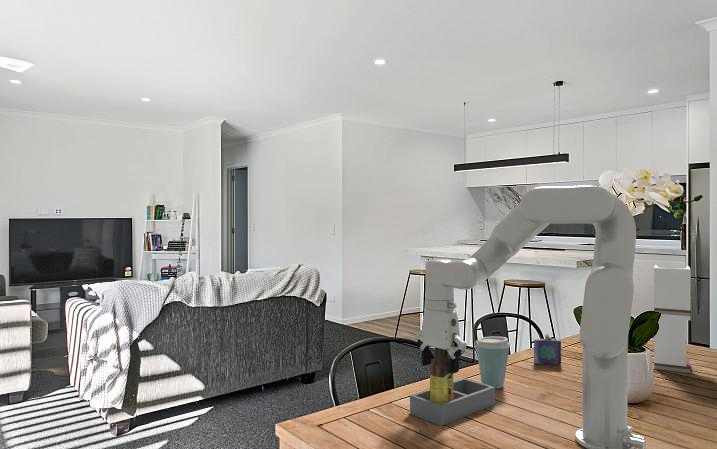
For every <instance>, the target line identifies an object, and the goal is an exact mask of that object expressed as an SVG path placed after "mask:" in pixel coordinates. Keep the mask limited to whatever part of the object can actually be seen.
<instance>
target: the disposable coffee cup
mask: <svg viewBox="0 0 717 449" xmlns="http://www.w3.org/2000/svg"><path fill="white" fill-rule="evenodd" d="M475 346H476V347H475V348H476V355H477V359H478V360H477V362H478V368H479V374H480V381H481V382H480V383H483V384H486V385H490V386H493V387H495V389H501V388H503V386H504V385H505V379H506V373H507V367H508V366H507V365H508V358H509V352H510V347H511V343H510V341H509V338H507V337H506V336H497V335H496V336H484V337H479V338H478V339H476V340H475Z"/></svg>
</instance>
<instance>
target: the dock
mask: <svg viewBox="0 0 717 449" xmlns="http://www.w3.org/2000/svg"><path fill="white" fill-rule="evenodd" d="M495 405H496V388H495V387H493V386H490V385H486V384H483V383H482V382H480V381H476V380H473V379H469V378H465V377H463V378H459V379H457V380H453V400H452V401H449V402H446V403H444V404H441V405H440V404H437V403H435V402H432V401H430V388H429V389H426V390H425V389H424V390H422V391H419V392H416V393H412V394H410V395H409V414H410V415H412V416H414V417H417V418H419V419H422V420H424V421H427V422H430V423H431V424H434V425H437V426H439V427H442V426H445V425H447V424H449V423H452V422H455V421H458V420H460V419H462V418H465V417H467V416H470V415H473V414H475V413H477V412H480V411H482V410H485V409H488V408H490V407H493V406H495Z"/></svg>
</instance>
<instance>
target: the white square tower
mask: <svg viewBox="0 0 717 449" xmlns="http://www.w3.org/2000/svg"><path fill="white" fill-rule="evenodd" d="M653 271H654V274H653V276H654V278H653V281H654V282H653V283H654V284H653V287H654V288H653V290H654V291H653V294H654V295H653V307H654V308H653V312H654V311H655V312H660V313H661V317H660V319H659V322H658V323H659V330H658V332H657V334H656V336H655V337H654V336H653V369H654V370H660V371H661V370H662V371H670V372H678V373H686V374H691V363H690V359H689V358H687V335H688V334H687V333H688V331H687V328H688V324H687V323H688V321H691V319H692V318H691V316H692V315H691V314H692V313H691V312H692V310H691V307H692V306H691V304H692V300H691V299H692V298H691V297H692V294H691V293H692V291H691V290H692V288H691V286H692V285H691V284H692V275H691V273H692V272H691V271H692V270H691V268H690V266H689V265H687V266H685V267H683V268H676V267H675V268H674V267H673V268H670V267H659V266H658V265H657V264H654V266H653Z"/></svg>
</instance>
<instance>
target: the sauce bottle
mask: <svg viewBox="0 0 717 449" xmlns="http://www.w3.org/2000/svg"><path fill="white" fill-rule="evenodd" d="M433 354H434V357H433V358H432V359H431V364H429V365H430V366H429V368H430V370H429V371H430V372H429V373H430V374H429V389H430V401H432V402H435V403H437V404H440V405H441V404H444V403H446V402H449V401H452V400H453V381H454V374H450V373H449V359H450V358H451V357H450V355H449V353H448V351H447V350H443V349H439V348H435V347H434V353H433Z"/></svg>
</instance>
